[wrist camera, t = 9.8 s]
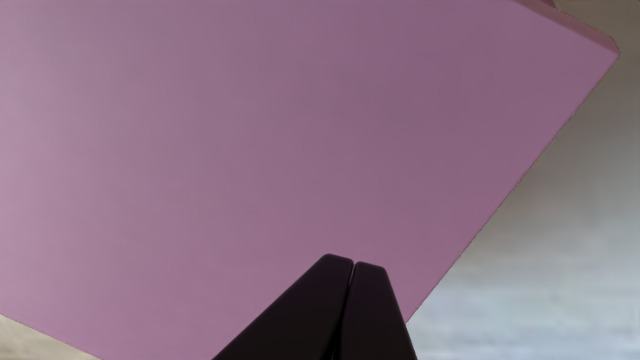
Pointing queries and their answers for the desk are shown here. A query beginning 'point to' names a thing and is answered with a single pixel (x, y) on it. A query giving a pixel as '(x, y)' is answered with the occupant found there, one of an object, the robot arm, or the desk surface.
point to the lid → (259, 151)
